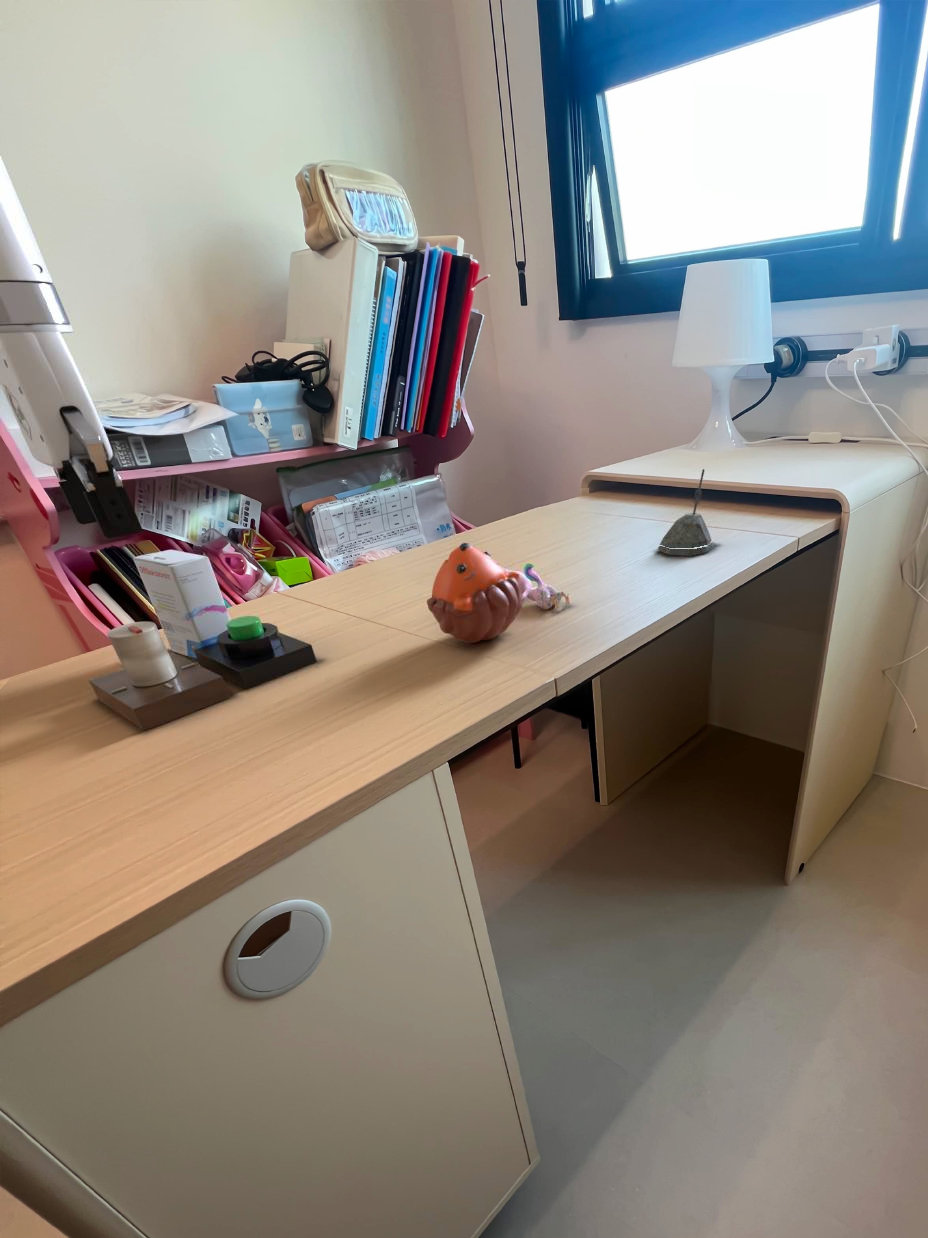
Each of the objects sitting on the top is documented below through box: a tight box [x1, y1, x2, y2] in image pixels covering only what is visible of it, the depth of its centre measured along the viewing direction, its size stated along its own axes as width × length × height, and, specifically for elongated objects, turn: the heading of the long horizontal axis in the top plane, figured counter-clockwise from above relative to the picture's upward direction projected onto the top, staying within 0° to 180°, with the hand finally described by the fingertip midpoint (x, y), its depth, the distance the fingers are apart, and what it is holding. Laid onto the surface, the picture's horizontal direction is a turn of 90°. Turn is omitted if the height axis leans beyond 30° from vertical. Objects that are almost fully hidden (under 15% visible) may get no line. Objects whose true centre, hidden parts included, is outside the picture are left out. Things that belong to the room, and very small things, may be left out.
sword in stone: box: [657, 468, 717, 557], centre depth 109 cm, size 10×8×12 cm
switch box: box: [194, 622, 317, 690], centre depth 77 cm, size 11×9×4 cm
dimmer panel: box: [88, 652, 231, 731], centre depth 71 cm, size 12×9×3 cm
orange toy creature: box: [426, 542, 523, 644], centre depth 79 cm, size 12×10×11 cm
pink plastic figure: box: [502, 563, 571, 613], centre depth 92 cm, size 6×6×15 cm
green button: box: [226, 615, 264, 640], centre depth 76 cm, size 4×4×2 cm
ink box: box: [133, 549, 232, 660], centre depth 79 cm, size 9×5×12 cm, turn 58°
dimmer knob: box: [106, 621, 177, 687], centre depth 68 cm, size 4×4×6 cm
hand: (109, 527), depth 64 cm, fingers open, 9 cm apart
